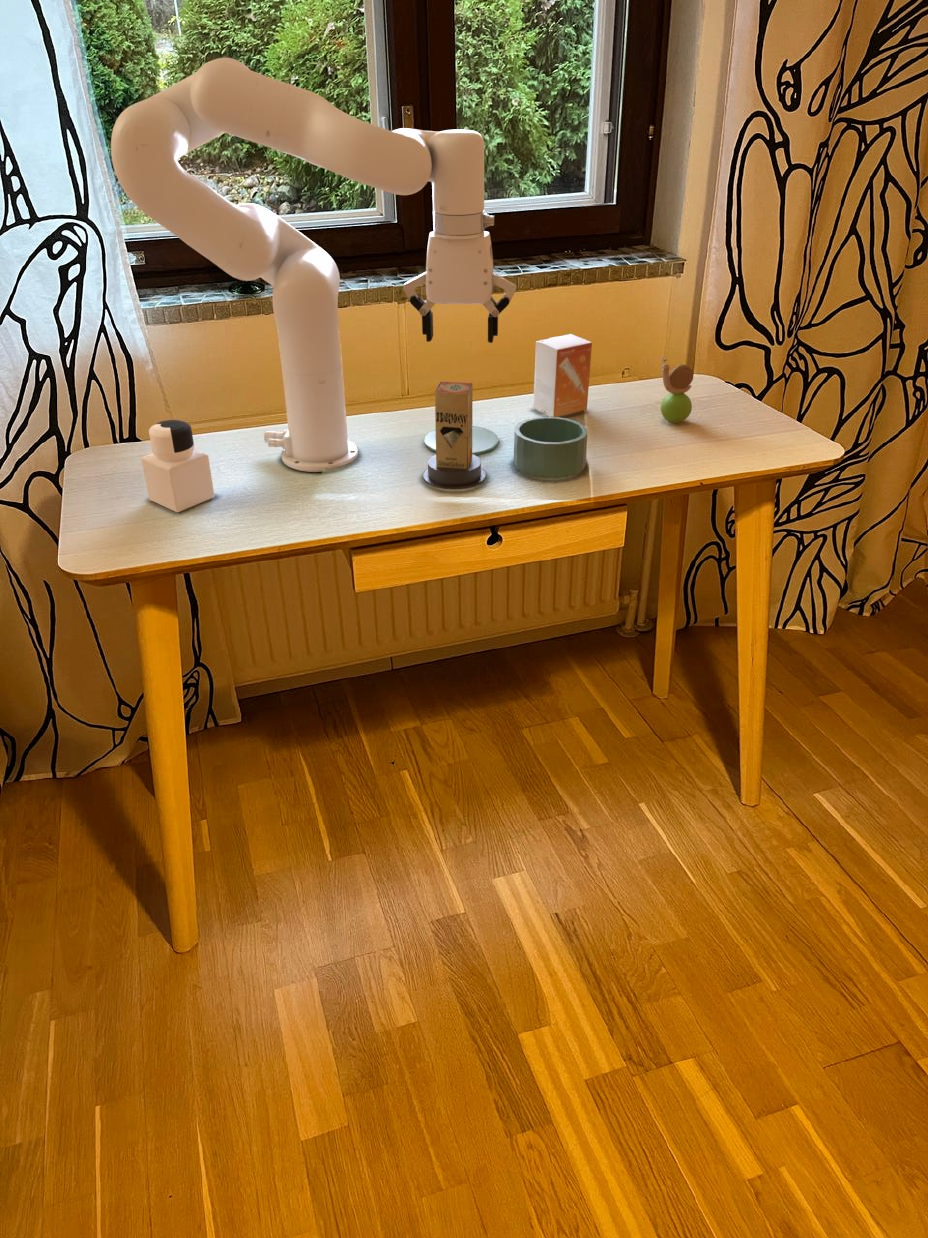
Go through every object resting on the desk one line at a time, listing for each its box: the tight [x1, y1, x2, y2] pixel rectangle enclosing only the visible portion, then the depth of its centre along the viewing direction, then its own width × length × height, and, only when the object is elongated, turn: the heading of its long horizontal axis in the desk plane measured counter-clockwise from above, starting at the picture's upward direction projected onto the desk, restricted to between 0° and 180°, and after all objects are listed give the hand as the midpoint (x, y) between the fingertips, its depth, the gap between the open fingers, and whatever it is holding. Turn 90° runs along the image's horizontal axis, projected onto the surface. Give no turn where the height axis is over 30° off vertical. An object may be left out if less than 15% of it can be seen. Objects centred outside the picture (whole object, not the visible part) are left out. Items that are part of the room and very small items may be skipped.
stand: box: [422, 454, 487, 491], centre depth 154 cm, size 10×10×3 cm
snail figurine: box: [660, 356, 694, 424], centre depth 171 cm, size 5×6×12 cm
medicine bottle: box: [141, 419, 215, 513], centre depth 145 cm, size 7×7×12 cm
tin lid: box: [423, 425, 499, 456], centre depth 165 cm, size 13×13×6 cm
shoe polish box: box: [434, 381, 473, 469], centre depth 149 cm, size 5×5×12 cm
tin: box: [513, 416, 588, 479], centre depth 157 cm, size 12×12×6 cm
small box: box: [532, 333, 593, 417], centre depth 176 cm, size 8×6×13 cm
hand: (460, 339), depth 152 cm, fingers open, 9 cm apart
